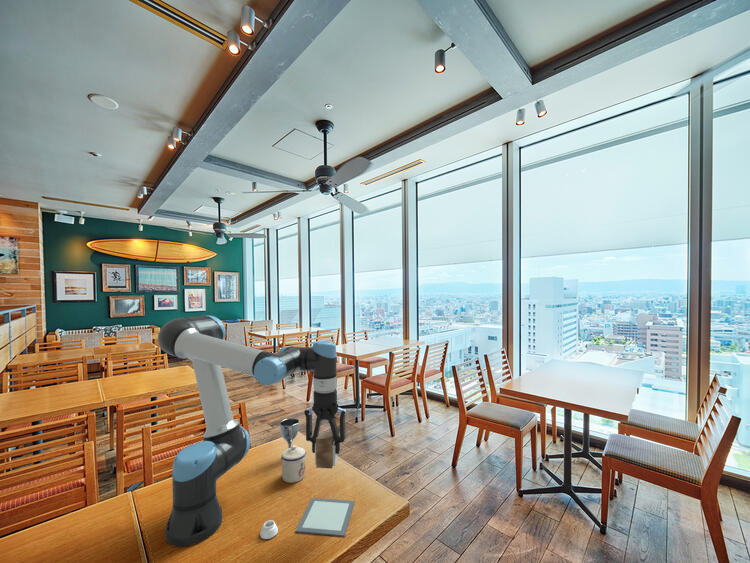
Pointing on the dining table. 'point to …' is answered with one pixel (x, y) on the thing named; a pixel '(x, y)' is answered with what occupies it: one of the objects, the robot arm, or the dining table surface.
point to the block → (324, 450)
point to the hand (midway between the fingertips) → (326, 462)
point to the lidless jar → (269, 530)
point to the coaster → (326, 517)
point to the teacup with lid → (293, 464)
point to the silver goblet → (289, 430)
